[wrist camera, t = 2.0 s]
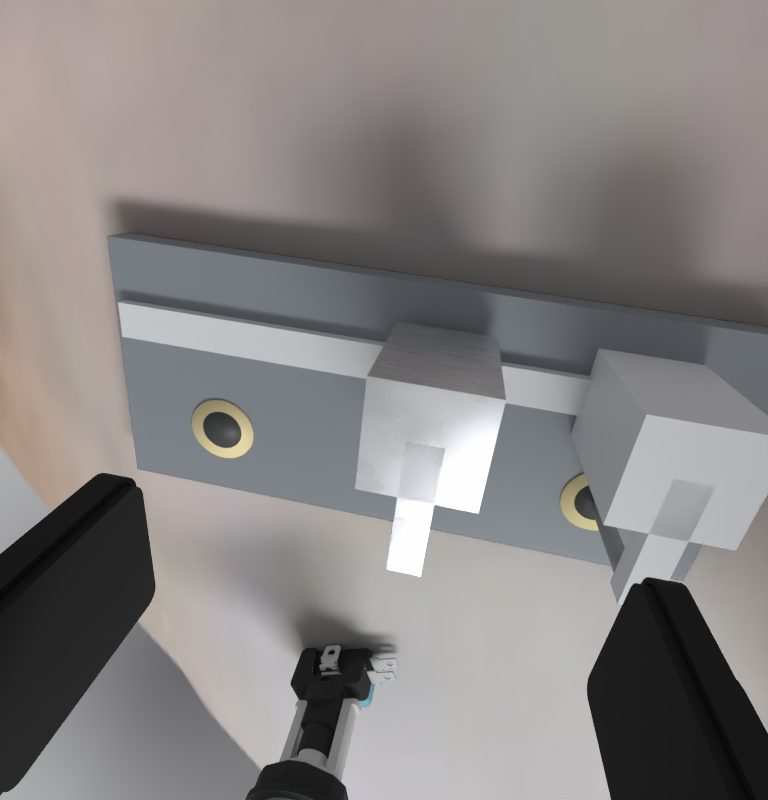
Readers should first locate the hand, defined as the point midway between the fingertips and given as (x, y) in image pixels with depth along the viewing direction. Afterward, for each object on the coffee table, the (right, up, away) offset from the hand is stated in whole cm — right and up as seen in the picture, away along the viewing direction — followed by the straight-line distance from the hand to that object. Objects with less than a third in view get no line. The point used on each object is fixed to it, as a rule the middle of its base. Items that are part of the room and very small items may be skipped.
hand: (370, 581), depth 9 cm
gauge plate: (+2, +3, +14) cm, 14 cm away
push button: (-2, -13, +22) cm, 26 cm away
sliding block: (+2, +3, +12) cm, 12 cm away
